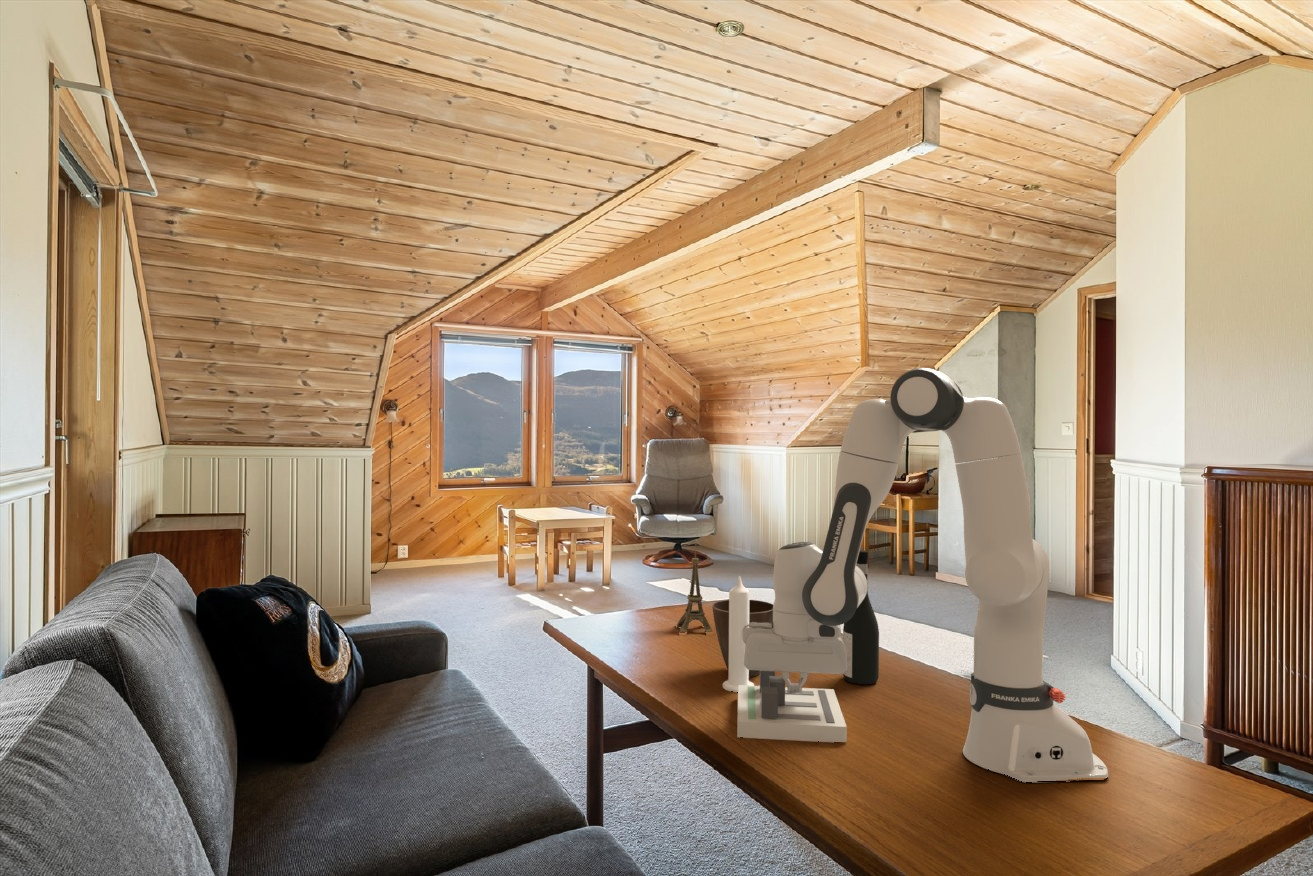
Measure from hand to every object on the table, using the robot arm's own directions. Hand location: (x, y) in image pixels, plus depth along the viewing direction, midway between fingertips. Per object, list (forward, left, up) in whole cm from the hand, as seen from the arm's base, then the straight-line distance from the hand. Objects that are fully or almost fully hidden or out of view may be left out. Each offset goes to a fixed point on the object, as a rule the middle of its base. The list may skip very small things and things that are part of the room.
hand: (794, 693), depth 152 cm
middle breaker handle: (+3, 0, -2) cm, 4 cm away
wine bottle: (-17, -27, -5) cm, 32 cm away
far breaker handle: (+5, -7, -2) cm, 9 cm away
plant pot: (+10, -29, -5) cm, 31 cm away
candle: (+11, -18, -5) cm, 22 cm away
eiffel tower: (+24, -67, -6) cm, 71 cm away
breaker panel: (+1, 0, -5) cm, 5 cm away
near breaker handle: (+5, +7, -2) cm, 9 cm away
